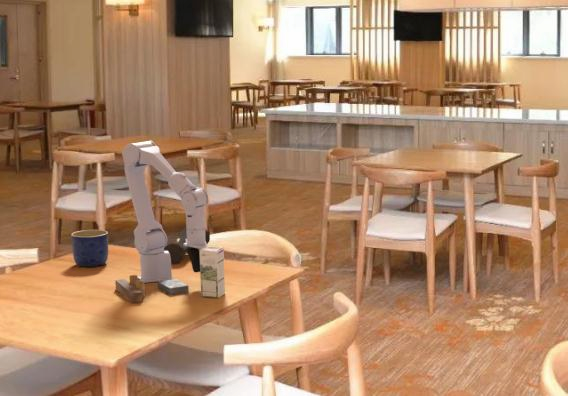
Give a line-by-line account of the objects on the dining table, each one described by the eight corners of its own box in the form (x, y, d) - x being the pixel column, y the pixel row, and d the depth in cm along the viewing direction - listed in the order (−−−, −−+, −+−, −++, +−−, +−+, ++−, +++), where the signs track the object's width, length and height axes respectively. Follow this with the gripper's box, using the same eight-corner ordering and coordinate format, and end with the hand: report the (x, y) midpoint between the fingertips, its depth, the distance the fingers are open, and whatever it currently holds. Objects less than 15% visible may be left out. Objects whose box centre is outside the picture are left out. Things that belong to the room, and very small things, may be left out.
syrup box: (225, 293, 302) (224, 246, 300) (218, 298, 297) (216, 250, 295) (208, 292, 304) (206, 245, 302) (200, 297, 299) (198, 249, 296)
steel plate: (175, 286, 314) (175, 278, 313) (188, 293, 305) (188, 285, 305) (157, 289, 311) (157, 281, 310) (170, 296, 302) (170, 288, 302)
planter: (65, 264, 345) (64, 233, 343) (96, 258, 353) (95, 228, 351) (85, 270, 336) (83, 238, 334) (116, 264, 344) (115, 232, 342)
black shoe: (192, 252, 370) (169, 279, 344) (178, 227, 369) (153, 253, 343) (217, 239, 367) (195, 265, 341) (202, 214, 366) (179, 239, 339)
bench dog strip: (132, 287, 312) (132, 271, 311) (150, 300, 296) (149, 284, 295) (115, 289, 309) (115, 273, 309) (132, 303, 293) (131, 286, 293)
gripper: (175, 226, 313) (177, 268, 315) (191, 233, 300) (193, 278, 302) (196, 223, 316) (198, 265, 318) (213, 231, 303) (215, 275, 305)
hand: (197, 271), depth 310 cm, fingers closed
